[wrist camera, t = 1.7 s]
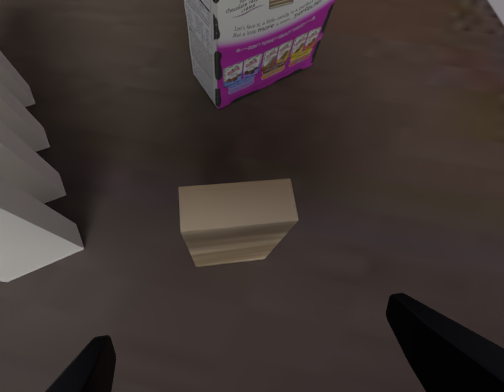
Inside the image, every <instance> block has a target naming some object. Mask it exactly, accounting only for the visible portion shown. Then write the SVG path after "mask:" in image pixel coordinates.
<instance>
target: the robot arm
mask: <svg viewBox="0 0 504 392" xmlns="http://www.w3.org/2000/svg"><path fill="white" fill-rule="evenodd" d="M386 317H387V320H388V322H389V324H390V326H391V328H392V330H393V332H394V334H395V336H396V338H397V340H398V342H399V344H400V346H401V348H402V350H403V352H404V354H405V356H406V358H407V360H408V362H409V364H410V366H411V367H412V369H413V371H414V372H415V374H416V376H417V377H418V379H419V381H420V382H421V384H422V386H423V387H424V389H425V390H426V392H504V348H502V347H500V346H498V345H497V344H495V343H493V342H491V341H489V340H487V339H486V338H484V337H482V336H480V335H478V334H477V333H475V332H473V331H471V330H469V329H468V328H466V327H464V326H462V325H460V324H458V323H457V322H455V321H453V320H451V319H449V318H448V317H446V316H444V315H442V314H440V313H439V312H437V311H435V310H433V309H431V308H429V307H428V306H426V305H424V304H422V303H420V302H419V301H417V300H415V299H413V298H411V297H410V296H408V295H406V294H404V293H397V294H392V295H391V296H390V297H389V301H388V305H387V310H386ZM115 363H116V354H115V351H114V347H113V344H112V340H111V338H110V336H108V335H105V336H98V337H95V338H93V339H92V340H91V341H90V342H89V343H88V344H87V346H86V347H85V348H84V349H83V350H82V351H81V352H80V353H79V354H78V356H77V357H76V358H75V359H74V360H73V361H72V362H71V363H70V365H69V366H68V367H67V368H66V369H65V370H64V371H63V372H62V373H61V375H60V376H59V377H58V378H57V379H56V380H55V381H54V382H53V384H52V385H51V386H50V387H49V388H48V389H47V390H46V391H45V392H111V390H112V384H113V377H114V370H115Z"/></svg>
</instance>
